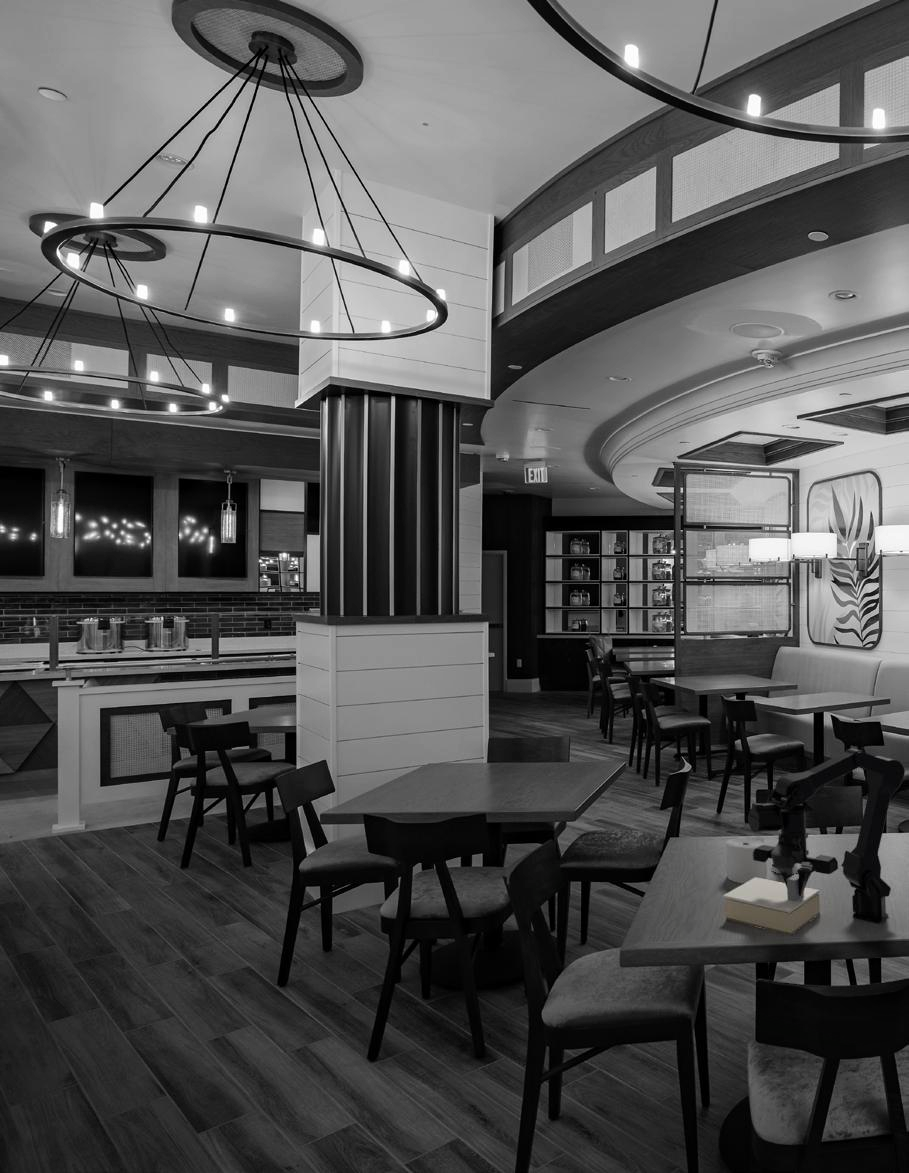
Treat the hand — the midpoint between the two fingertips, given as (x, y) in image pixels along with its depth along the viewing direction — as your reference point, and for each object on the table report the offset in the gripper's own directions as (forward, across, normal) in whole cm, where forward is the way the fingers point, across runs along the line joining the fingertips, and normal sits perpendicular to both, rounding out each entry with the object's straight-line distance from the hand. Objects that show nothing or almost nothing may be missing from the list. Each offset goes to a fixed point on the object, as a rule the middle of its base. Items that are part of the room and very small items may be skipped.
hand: (795, 894), depth 205 cm
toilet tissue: (+7, -24, +25) cm, 35 cm away
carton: (+7, -6, 0) cm, 9 cm away
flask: (+7, -18, +37) cm, 42 cm away
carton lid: (+1, -6, 0) cm, 6 cm away
